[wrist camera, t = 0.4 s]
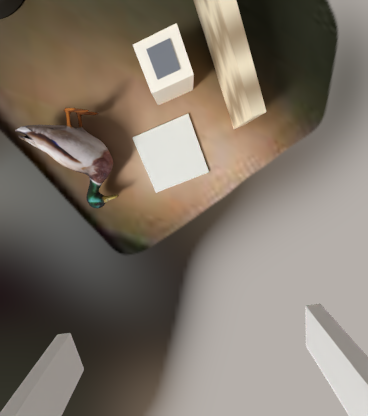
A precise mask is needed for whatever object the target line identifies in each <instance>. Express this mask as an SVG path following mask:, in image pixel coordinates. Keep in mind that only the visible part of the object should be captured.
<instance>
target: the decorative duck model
mask: <svg viewBox="0 0 368 416" xmlns="http://www.w3.org/2000/svg"><path fill="white" fill-rule="evenodd" d="M63 110H64V109H63ZM64 111H65V112H66V118H67V126H62V125H29V126H23V127H20V128H18V129H17V130H15V131H17V132H20V133H23V134H25V135H26V136H24V137H22V136H19V138H21V139H23V140H25V141H27V142H28V143H30V144H32V145H33V146H35V147H37V148H38V149H40V150H42V151H44V152H46V153H47V154H49V155H50V156H51V157H52V158H53V159H55V160H56V161H57V162H58V163H60V164H61V165H63V166H64V167H66V168H68V169H71V170H74V171H77V172H80V173H84V174H87V175H88V176H89V178H90V185H89V189H88V192H87V201H88V203H89V205H90V206H91V207H93V208H101V207H102V206H104V204H105V203H106V202H107V201H109V200H111V199H114V198H116V197H118V195H111V196H104V195H102V194H101V193H99V188H100V186H101V184H102V183H103V182H104V180H105V179H106V178H107V176H108V175H109V174H110V172H111V170H112V167H113V159H112V157H111V154H110V153H109V151H108V149H107V147H106V146H105V145H104V143H103V142H102V141H100V140H99V139H97V138H96V137H94V136H92V135H91V134H89V133H88V132H87V131H85V130H84V129H83V127H82V120H81V114H85V115H96V114H98V113H95V112H88V111H89V110H82V109H76V108H65V110H64ZM71 112H76V114H77V115H78V121H79V128H75V127H71V122H70V113H71Z"/></svg>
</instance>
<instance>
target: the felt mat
mask: <svg viewBox="0 0 368 416" xmlns="http://www.w3.org/2000/svg"><path fill="white" fill-rule="evenodd" d="M133 141H134V143H135V145H136V148H137V150H138V152H139V154H140V157H141V159H142V161H143V164H144V166H145V168H146V171H147V173H148V175H149V178H150V180H151V182H152V185H153V187H154V189H155V192H156V193H157V192H159V191H162V190H164V189H167V188H169V187H172V186H175V185H177V184H180V183H182V182H185V181H187V180H190V179H192V178H195V177H198V176H200V175H203V174H205V173H208V172H209V171H208V168H207V165H206V162H205V159H204V157H203V154H202V151H201V148H200V145H199V143H198V140H197V137H196V134H195V132H194V129H193V126H192V123H191V120H190V118H189V115H188V114H186V115H183V116H181V117H179V118H176V119H174V120H172V121H170V122H167V123H165V124H163V125H160V126H158V127H156V128H153V129H151V130H149V131H146V132H144V133H142V134H139V135H137V136H135V137H133Z"/></svg>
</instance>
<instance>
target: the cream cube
mask: <svg viewBox="0 0 368 416" xmlns="http://www.w3.org/2000/svg"><path fill="white" fill-rule="evenodd" d="M133 47H134V50H135V52H136V55H137V57H138V60H139V62H140V65H141V68H142V70H143V73H144V75H145V78H146V80H147V83H148V86H149V88H150V91H151V93H152V95H153V97H154V99H155V100H156V102H157V104H158V105H160V104H163V103H165V102H167V101H169V100H172V99H174V98H176V97H178V96H181V95H183V94H185V93H187V92H190V91H192V90H193V81H194V74H193V71H192V68H191V65H190V62H189V59H188V56H187V53H186V50H185V47H184V44H183V41H182V38H181V35H180V32H179V29H178V26H177V23H176V24H174V25H172V26H170V27H168V28H166V29H164V30H162V31H160V32H158V33H156V34H154V35H152V36H150V37H148V38H145V39H143V40H141V41H139V42H137V43H135V44H133Z"/></svg>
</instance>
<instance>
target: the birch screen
mask: <svg viewBox="0 0 368 416" xmlns="http://www.w3.org/2000/svg"><path fill="white" fill-rule="evenodd" d="M194 3H195V6H196V9H197V13H198V16H199V19H200V22H201V25H202V29H203V32H204V35H205V38H206V41H207V45H208V48H209V51H210V54H211V57H212V61H213V64H214V67H215V70H216V73H217V77H218V80H219V83H220V86H221V89H222V93H223V96H224V99H225V102H226V105H227V109H228V112H229V115H230V118H231V121H232V125H233V128H234V129H236V128H239V127H241V126H243V125H245V124H247V123H248V122H250V121H252V120H254V119H255V118H257V117H259V116H260V115H262V114H264V113H265V112H266V108H265V104H264V101H263V97H262V93H261V90H260V86H259V82H258V79H257V75H256V71H255V67H254V64H253V60H252V56H251V53H250V49H249V45H248V42H247V38H246V34H245V30H244V27H243V23H242V19H241V16H240V12H239V8H238V5H237V1H236V0H194Z"/></svg>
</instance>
